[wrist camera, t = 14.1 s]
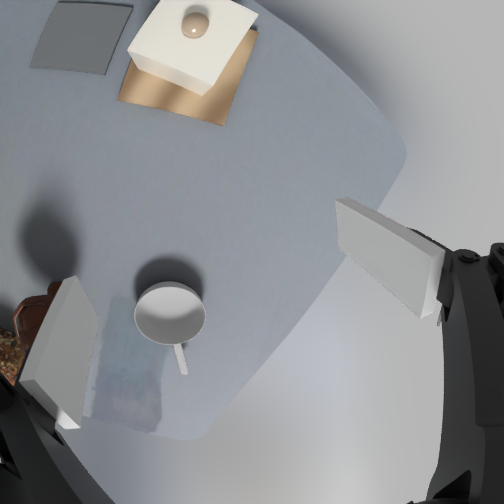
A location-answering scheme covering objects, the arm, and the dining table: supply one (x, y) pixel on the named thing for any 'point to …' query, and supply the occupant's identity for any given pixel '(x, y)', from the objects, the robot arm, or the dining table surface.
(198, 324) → the saucepan
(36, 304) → the ice cream bowl
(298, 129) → the dining table surface
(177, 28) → the knobbed white box
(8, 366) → the bread
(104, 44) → the mat
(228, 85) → the board
